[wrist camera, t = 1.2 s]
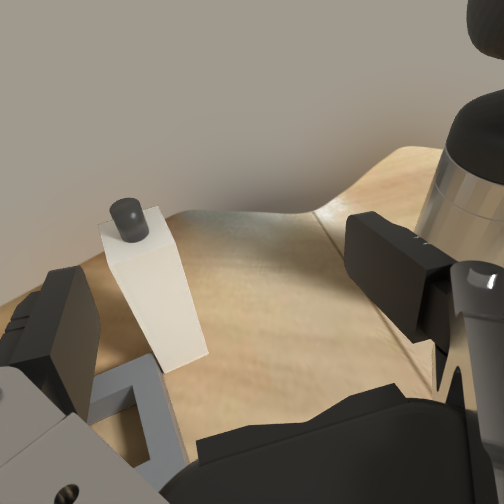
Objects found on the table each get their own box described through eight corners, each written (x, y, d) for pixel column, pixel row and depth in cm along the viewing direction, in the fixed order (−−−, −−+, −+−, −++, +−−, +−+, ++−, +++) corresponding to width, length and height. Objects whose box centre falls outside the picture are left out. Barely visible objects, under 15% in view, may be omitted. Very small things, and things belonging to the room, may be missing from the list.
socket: (43, 420, 33) (24, 406, 31) (160, 369, 36) (151, 352, 33) (52, 564, 26) (28, 561, 24) (197, 486, 29) (189, 476, 26)
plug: (153, 336, 39) (85, 199, 25) (194, 319, 40) (149, 179, 26) (164, 373, 36) (94, 240, 22) (208, 354, 37) (167, 215, 23)
